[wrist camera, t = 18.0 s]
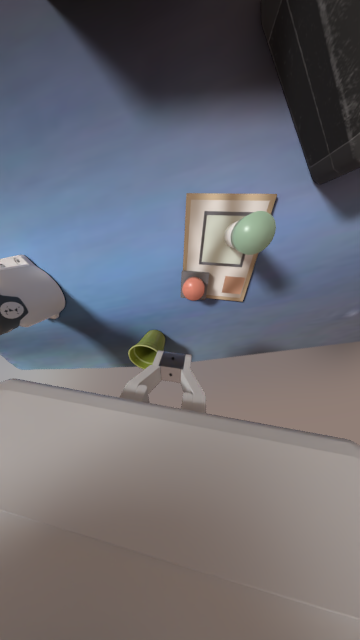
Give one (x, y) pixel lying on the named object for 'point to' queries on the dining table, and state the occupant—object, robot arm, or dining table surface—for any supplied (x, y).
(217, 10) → the dining table surface
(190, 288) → the button
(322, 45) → the cash box
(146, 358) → the plant pot
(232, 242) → the green capped bottle
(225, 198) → the colouring board
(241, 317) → the dining table surface
